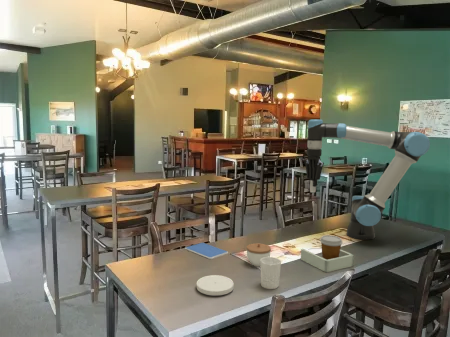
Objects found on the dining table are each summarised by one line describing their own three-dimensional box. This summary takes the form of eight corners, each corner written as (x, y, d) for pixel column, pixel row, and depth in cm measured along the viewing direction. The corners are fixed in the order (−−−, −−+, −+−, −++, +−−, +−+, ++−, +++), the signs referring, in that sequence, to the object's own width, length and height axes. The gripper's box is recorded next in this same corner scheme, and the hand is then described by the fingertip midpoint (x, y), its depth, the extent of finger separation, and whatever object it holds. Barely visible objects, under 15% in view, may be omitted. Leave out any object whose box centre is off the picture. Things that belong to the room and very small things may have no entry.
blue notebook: (183, 249, 178) (183, 247, 177) (202, 244, 186) (202, 241, 186) (210, 260, 164) (210, 258, 164) (229, 254, 173) (229, 251, 173)
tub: (326, 253, 174) (327, 244, 173) (353, 265, 160) (354, 255, 159) (300, 259, 166) (301, 249, 165) (326, 272, 152) (326, 261, 151)
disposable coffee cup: (343, 268, 156) (344, 242, 155) (321, 267, 157) (322, 241, 156) (338, 260, 165) (339, 235, 164) (317, 259, 166) (318, 234, 165)
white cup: (257, 281, 142) (258, 257, 141) (277, 280, 143) (278, 256, 142) (261, 290, 134) (262, 264, 133) (282, 289, 135) (283, 264, 134)
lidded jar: (254, 270, 153) (255, 249, 152) (241, 261, 162) (242, 241, 161) (275, 266, 158) (275, 245, 157) (261, 258, 167) (262, 238, 166)
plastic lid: (189, 291, 133) (189, 285, 133) (209, 278, 145) (209, 272, 144) (221, 301, 126) (221, 295, 125) (240, 286, 138) (240, 280, 137)
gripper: (300, 148, 194) (299, 190, 197) (317, 149, 183) (315, 194, 186) (311, 147, 198) (309, 189, 201) (328, 149, 187) (326, 193, 189)
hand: (312, 192), depth 193 cm, fingers closed
